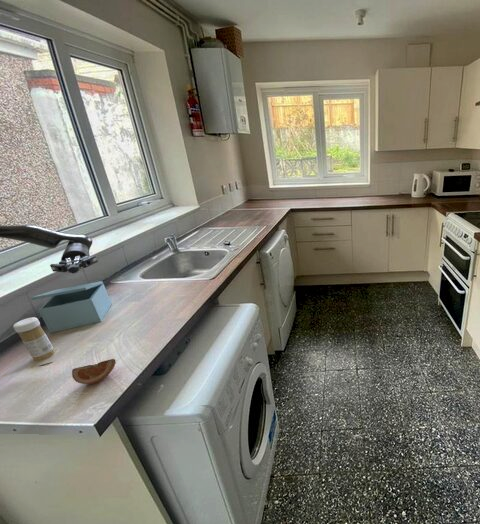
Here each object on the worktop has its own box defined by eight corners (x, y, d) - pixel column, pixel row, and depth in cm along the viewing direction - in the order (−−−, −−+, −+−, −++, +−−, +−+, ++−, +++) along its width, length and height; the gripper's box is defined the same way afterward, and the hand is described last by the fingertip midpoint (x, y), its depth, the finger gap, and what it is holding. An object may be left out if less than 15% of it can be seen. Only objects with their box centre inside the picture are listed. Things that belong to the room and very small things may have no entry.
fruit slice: (122, 365, 78) (116, 351, 76) (116, 382, 72) (108, 367, 71) (84, 376, 75) (76, 361, 73) (74, 394, 69) (65, 379, 67)
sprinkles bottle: (52, 354, 84) (30, 315, 79) (62, 357, 82) (41, 318, 77) (32, 365, 80) (8, 325, 75) (42, 368, 78) (18, 327, 73)
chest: (101, 321, 99) (91, 299, 96) (50, 332, 94) (37, 310, 91) (111, 303, 111) (103, 283, 107) (67, 313, 106) (56, 292, 102)
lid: (86, 289, 94) (85, 287, 94) (31, 300, 89) (30, 297, 89) (103, 283, 107) (102, 281, 107) (56, 292, 102) (55, 289, 102)
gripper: (102, 261, 114) (102, 274, 101) (57, 271, 106) (51, 286, 94) (94, 243, 111) (94, 254, 98) (47, 252, 103) (40, 265, 91)
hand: (73, 270), depth 96 cm, fingers closed
